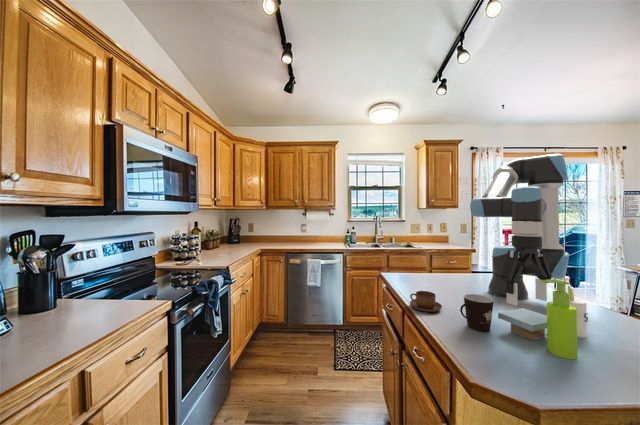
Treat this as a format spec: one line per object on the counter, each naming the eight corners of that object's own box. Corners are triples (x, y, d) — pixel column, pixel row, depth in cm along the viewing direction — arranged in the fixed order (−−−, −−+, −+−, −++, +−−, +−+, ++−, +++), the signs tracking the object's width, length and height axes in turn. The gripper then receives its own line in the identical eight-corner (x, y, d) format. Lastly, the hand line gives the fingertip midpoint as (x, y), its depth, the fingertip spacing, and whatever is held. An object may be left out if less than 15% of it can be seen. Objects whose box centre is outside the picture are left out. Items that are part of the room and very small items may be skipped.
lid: (523, 313, 85) (523, 308, 85) (558, 325, 75) (558, 319, 75) (498, 317, 81) (498, 312, 81) (532, 331, 72) (532, 325, 72)
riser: (523, 328, 82) (523, 316, 82) (544, 337, 76) (544, 324, 76) (511, 331, 80) (511, 319, 80) (531, 340, 75) (531, 327, 75)
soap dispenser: (538, 345, 72) (538, 276, 72) (569, 349, 69) (568, 278, 69) (549, 355, 66) (548, 281, 66) (582, 361, 64) (581, 284, 64)
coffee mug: (484, 322, 87) (484, 294, 87) (500, 334, 78) (499, 303, 78) (450, 321, 88) (450, 293, 88) (461, 332, 79) (461, 301, 79)
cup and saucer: (410, 312, 96) (410, 296, 97) (409, 302, 108) (409, 288, 108) (444, 316, 93) (444, 300, 93) (439, 305, 104) (439, 290, 104)
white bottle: (581, 339, 75) (580, 290, 75) (554, 330, 81) (554, 284, 81) (592, 335, 77) (591, 288, 78) (565, 326, 83) (564, 282, 84)
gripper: (538, 234, 86) (539, 294, 86) (486, 234, 78) (487, 301, 78) (565, 235, 79) (566, 301, 79) (511, 236, 71) (511, 310, 71)
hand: (527, 301), depth 78 cm, fingers open, 13 cm apart
